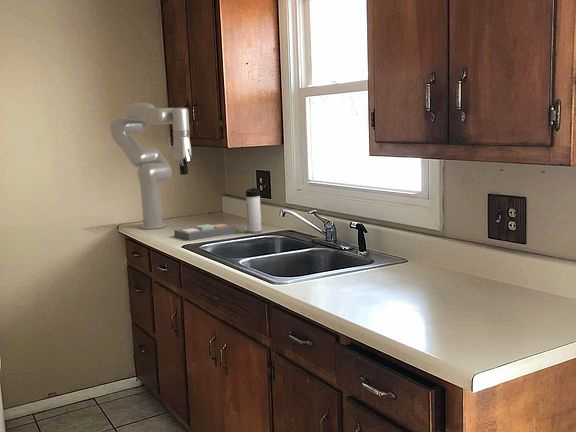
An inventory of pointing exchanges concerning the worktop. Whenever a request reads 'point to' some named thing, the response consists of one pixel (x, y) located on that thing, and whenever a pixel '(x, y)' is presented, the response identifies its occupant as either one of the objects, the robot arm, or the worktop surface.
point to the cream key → (189, 230)
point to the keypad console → (205, 233)
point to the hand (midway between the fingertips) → (184, 174)
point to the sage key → (205, 227)
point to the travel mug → (253, 210)
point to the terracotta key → (220, 225)
